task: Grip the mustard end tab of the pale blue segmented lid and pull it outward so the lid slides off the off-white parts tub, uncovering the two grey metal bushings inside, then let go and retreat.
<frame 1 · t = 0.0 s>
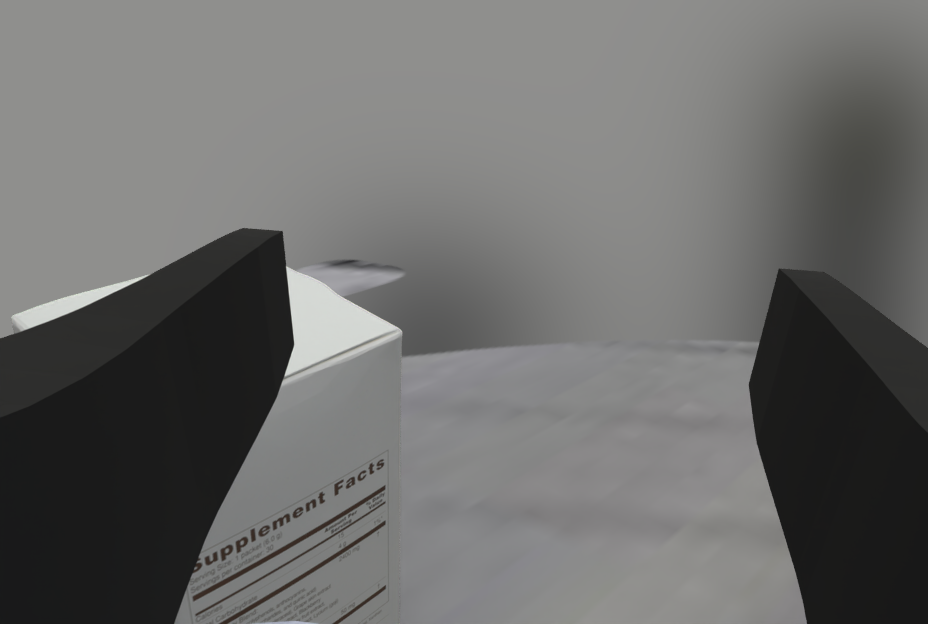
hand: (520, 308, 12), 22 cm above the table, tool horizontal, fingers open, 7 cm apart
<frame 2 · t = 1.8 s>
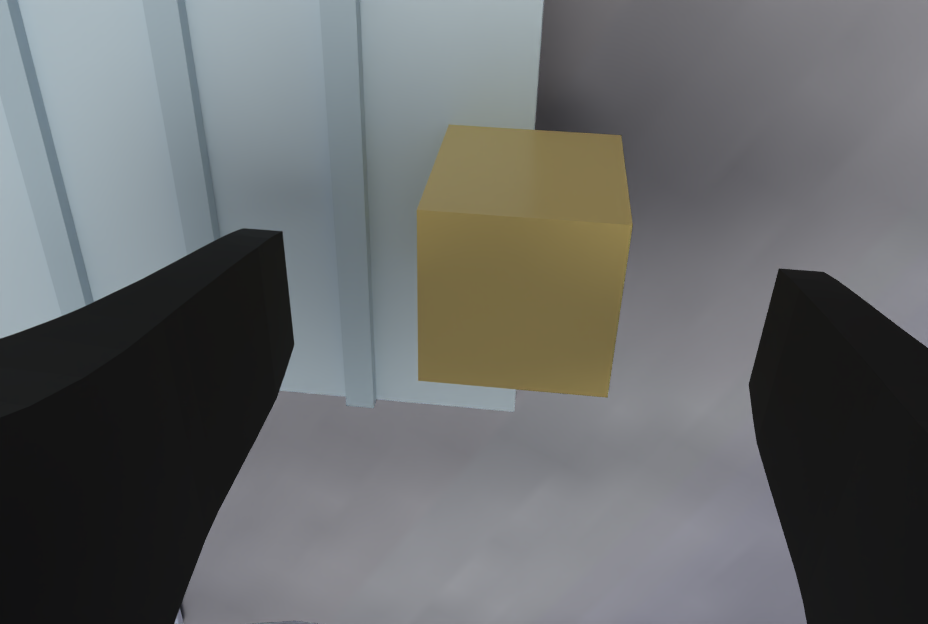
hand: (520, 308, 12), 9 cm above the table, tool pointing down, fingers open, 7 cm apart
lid: (209, 218, 15), point 6 cm above the table, slide at 0.0 cm
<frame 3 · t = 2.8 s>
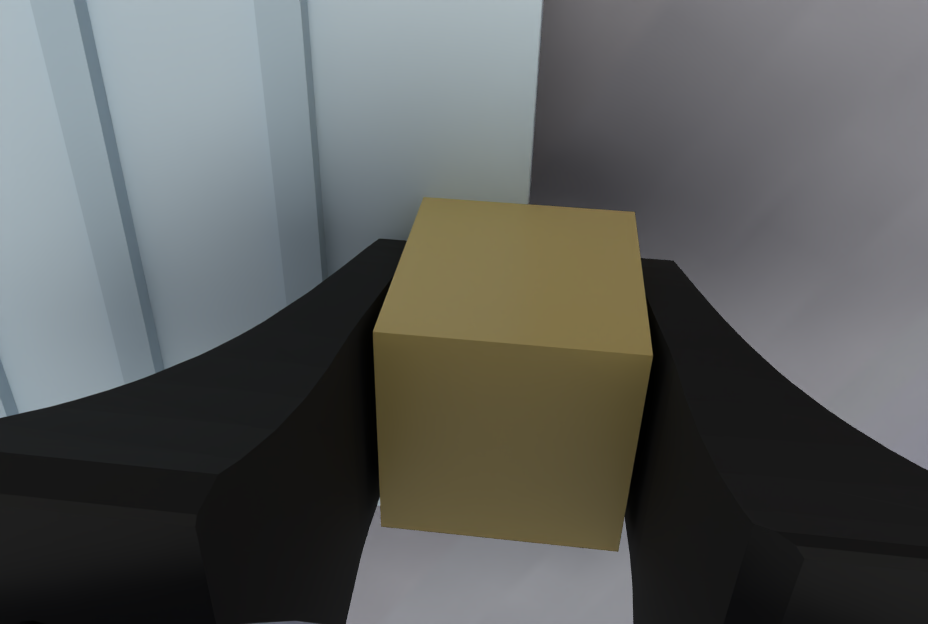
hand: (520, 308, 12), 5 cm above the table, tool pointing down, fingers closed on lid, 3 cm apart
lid: (130, 311, 12), point 6 cm above the table, slide at 0.0 cm, touching gripper
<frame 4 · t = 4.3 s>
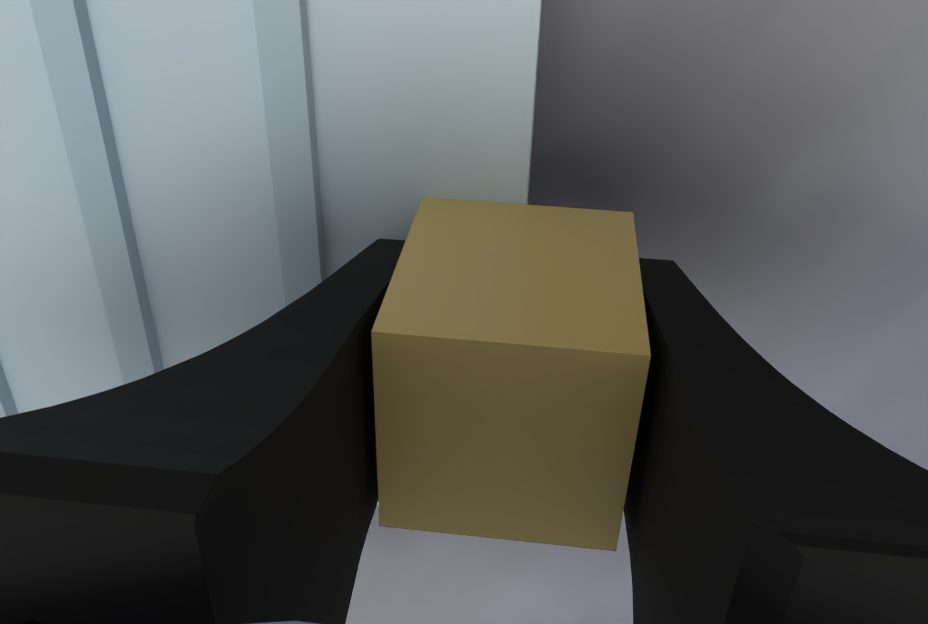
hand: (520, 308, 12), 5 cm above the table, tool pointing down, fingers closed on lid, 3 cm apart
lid: (129, 311, 12), point 6 cm above the table, slide at 5.2 cm, touching gripper
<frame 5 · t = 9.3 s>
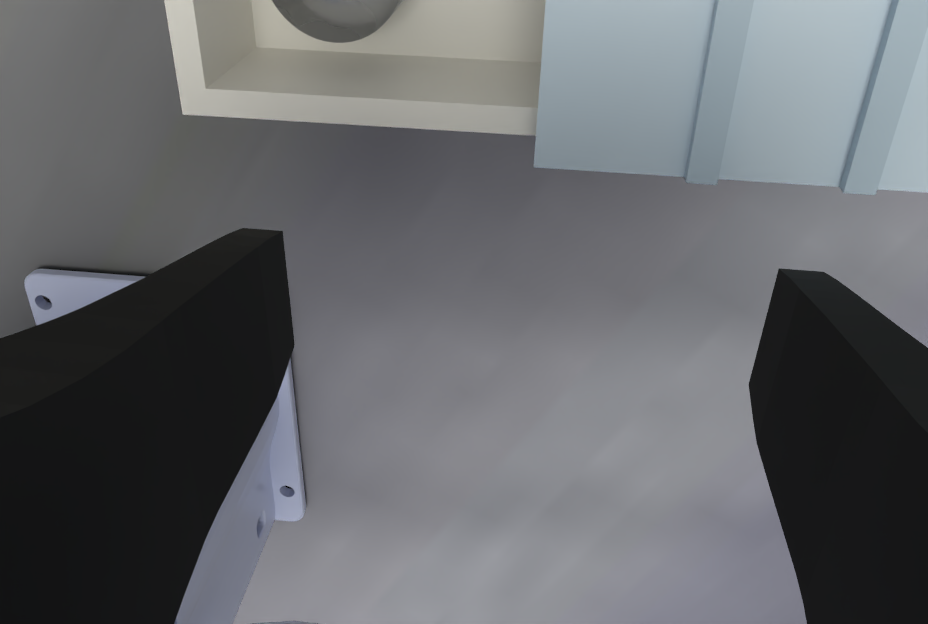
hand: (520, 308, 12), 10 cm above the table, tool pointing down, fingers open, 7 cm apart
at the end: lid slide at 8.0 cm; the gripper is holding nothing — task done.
